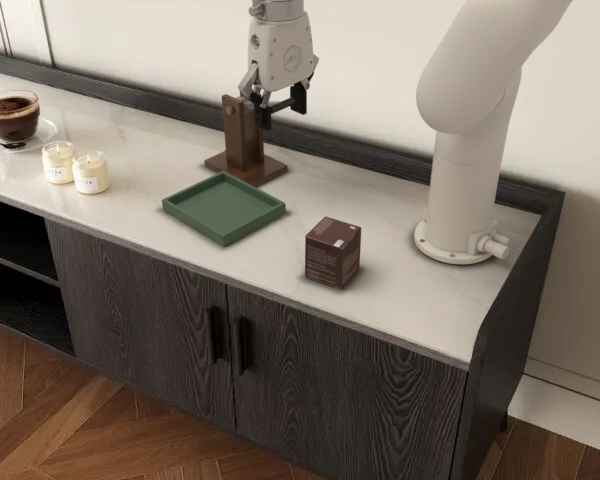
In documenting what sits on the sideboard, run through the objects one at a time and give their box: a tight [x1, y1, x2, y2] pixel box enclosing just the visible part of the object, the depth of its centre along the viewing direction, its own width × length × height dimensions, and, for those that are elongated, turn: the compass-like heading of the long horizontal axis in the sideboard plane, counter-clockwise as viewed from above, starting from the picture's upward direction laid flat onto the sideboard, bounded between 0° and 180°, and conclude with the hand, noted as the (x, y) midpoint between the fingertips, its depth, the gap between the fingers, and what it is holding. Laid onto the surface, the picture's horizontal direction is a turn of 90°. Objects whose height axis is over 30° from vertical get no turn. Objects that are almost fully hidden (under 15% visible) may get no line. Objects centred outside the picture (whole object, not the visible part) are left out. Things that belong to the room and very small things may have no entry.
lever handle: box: [235, 95, 295, 115], centre depth 124 cm, size 12×5×2 cm, turn 45°
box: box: [304, 216, 362, 290], centre depth 108 cm, size 6×6×7 cm
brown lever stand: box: [203, 90, 289, 188], centre depth 130 cm, size 12×9×14 cm
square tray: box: [161, 171, 287, 248], centre depth 123 cm, size 15×13×2 cm
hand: (281, 119), depth 122 cm, fingers open, 7 cm apart
